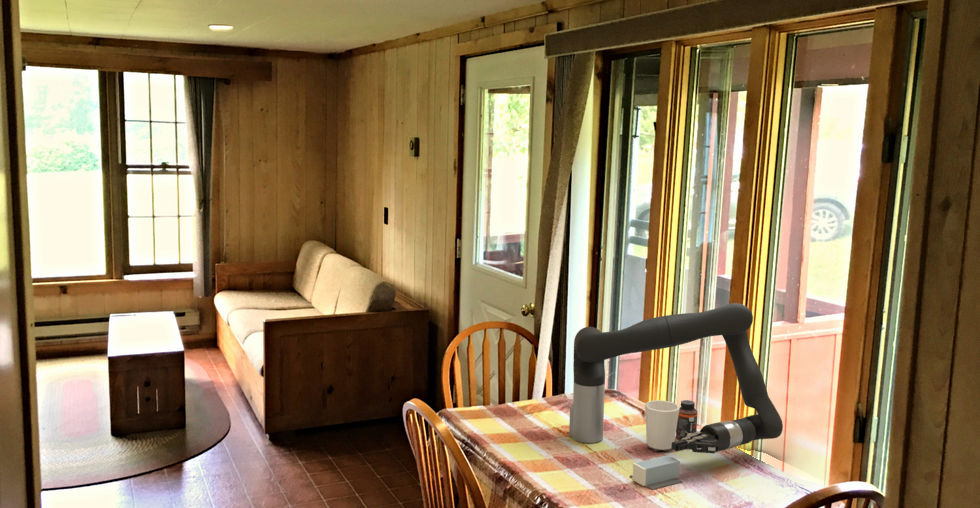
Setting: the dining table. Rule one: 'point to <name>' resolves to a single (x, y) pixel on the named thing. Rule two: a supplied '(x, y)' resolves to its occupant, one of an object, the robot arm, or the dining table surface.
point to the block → (655, 470)
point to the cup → (661, 424)
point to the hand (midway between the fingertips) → (673, 447)
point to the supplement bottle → (687, 418)
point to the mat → (662, 483)
